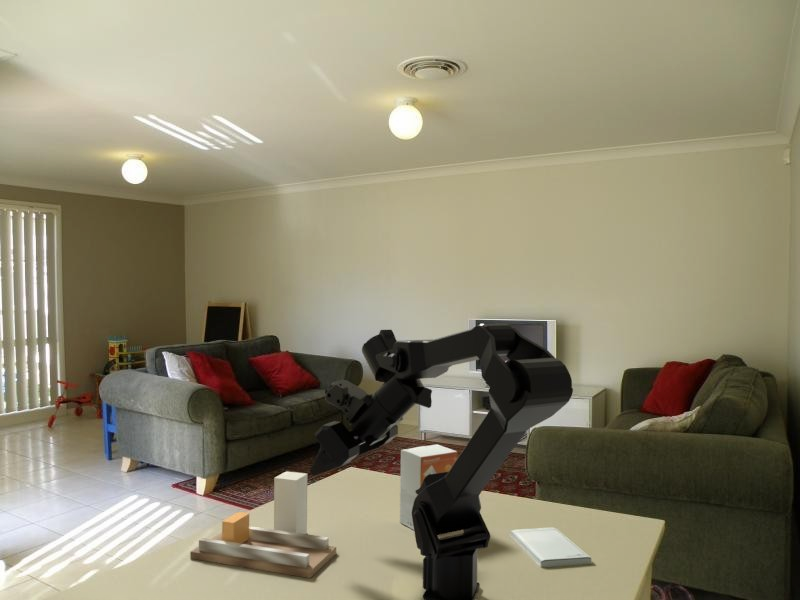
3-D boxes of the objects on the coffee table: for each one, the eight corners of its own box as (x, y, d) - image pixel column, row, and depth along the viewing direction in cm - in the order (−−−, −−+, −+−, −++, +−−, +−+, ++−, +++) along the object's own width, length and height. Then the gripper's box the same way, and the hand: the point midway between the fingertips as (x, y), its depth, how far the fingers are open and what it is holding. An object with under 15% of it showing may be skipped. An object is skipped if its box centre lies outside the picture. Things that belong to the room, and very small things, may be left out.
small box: (419, 534, 106) (420, 456, 105) (398, 522, 111) (399, 448, 111) (457, 525, 110) (458, 450, 110) (435, 514, 115) (436, 443, 115)
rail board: (336, 553, 97) (336, 536, 97) (310, 578, 89) (310, 559, 89) (224, 536, 104) (224, 520, 104) (190, 558, 95) (190, 541, 95)
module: (306, 533, 106) (307, 473, 105) (295, 541, 102) (296, 480, 102) (285, 530, 107) (286, 471, 107) (273, 538, 103) (274, 477, 103)
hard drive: (591, 556, 95) (555, 526, 107) (540, 560, 93) (510, 528, 105) (591, 567, 95) (555, 535, 107) (540, 571, 93) (510, 538, 105)
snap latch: (249, 538, 100) (249, 513, 99) (233, 549, 95) (233, 522, 95) (238, 537, 100) (238, 511, 100) (222, 547, 96) (222, 521, 96)
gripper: (382, 359, 108) (325, 417, 112) (327, 370, 91) (263, 439, 95) (424, 408, 105) (364, 466, 109) (376, 430, 88) (307, 498, 92)
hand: (326, 466), depth 102 cm, fingers open, 9 cm apart
